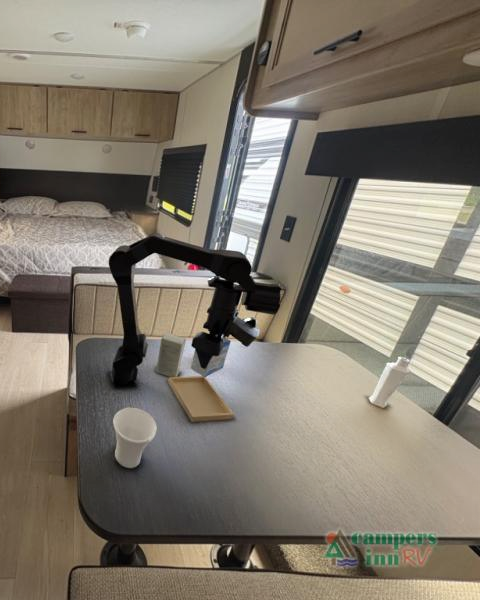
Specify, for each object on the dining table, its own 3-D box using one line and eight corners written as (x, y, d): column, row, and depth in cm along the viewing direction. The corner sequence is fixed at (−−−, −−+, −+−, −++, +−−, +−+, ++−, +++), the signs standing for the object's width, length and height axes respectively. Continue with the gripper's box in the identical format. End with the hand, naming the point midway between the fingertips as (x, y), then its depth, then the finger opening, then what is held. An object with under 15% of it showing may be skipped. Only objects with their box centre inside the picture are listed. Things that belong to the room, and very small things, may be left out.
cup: (122, 483, 60) (129, 448, 55) (101, 446, 67) (105, 412, 63) (159, 468, 63) (167, 434, 59) (134, 434, 71) (140, 401, 67)
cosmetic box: (179, 372, 93) (187, 338, 88) (175, 379, 90) (183, 345, 85) (159, 364, 96) (166, 331, 91) (154, 371, 93) (161, 337, 88)
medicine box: (204, 378, 75) (212, 349, 71) (189, 368, 78) (196, 340, 75) (223, 368, 79) (231, 340, 75) (208, 359, 82) (215, 332, 79)
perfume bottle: (388, 402, 86) (415, 359, 79) (388, 410, 83) (417, 366, 76) (367, 394, 88) (392, 351, 82) (366, 402, 85) (392, 358, 79)
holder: (191, 421, 75) (192, 416, 75) (167, 381, 89) (168, 377, 88) (232, 419, 77) (234, 414, 76) (203, 379, 90) (204, 375, 90)
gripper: (254, 332, 60) (233, 393, 66) (268, 303, 74) (249, 356, 80) (198, 314, 66) (183, 372, 72) (220, 291, 80) (207, 341, 86)
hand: (208, 360), depth 77 cm, fingers closed on medicine box, 9 cm apart
